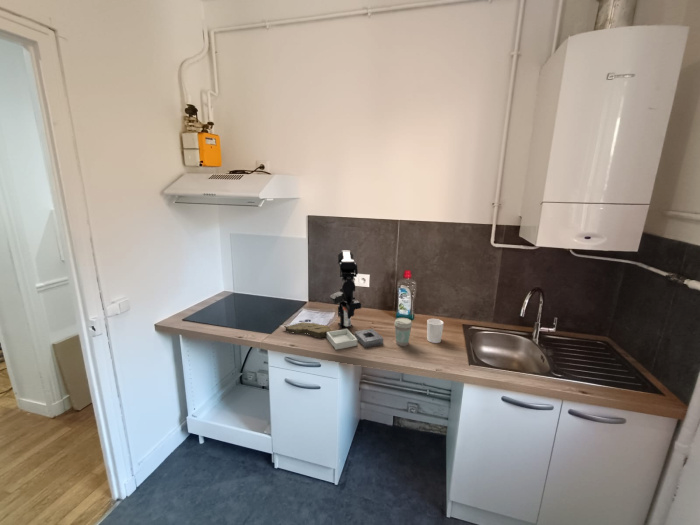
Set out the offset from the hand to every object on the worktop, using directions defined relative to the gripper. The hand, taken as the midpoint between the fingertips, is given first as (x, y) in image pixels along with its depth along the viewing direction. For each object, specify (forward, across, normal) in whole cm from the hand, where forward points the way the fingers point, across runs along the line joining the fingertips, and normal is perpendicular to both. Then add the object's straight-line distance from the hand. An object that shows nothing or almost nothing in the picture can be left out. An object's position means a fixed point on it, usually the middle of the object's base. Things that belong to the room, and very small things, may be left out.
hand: (347, 317), depth 150 cm
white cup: (+13, +17, +41) cm, 46 cm away
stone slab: (+14, -19, -14) cm, 27 cm away
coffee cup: (+13, +13, +24) cm, 30 cm away
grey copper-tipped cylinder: (+4, 0, 0) cm, 4 cm away
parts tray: (+13, -1, -3) cm, 13 cm away
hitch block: (+13, +4, +10) cm, 17 cm away
